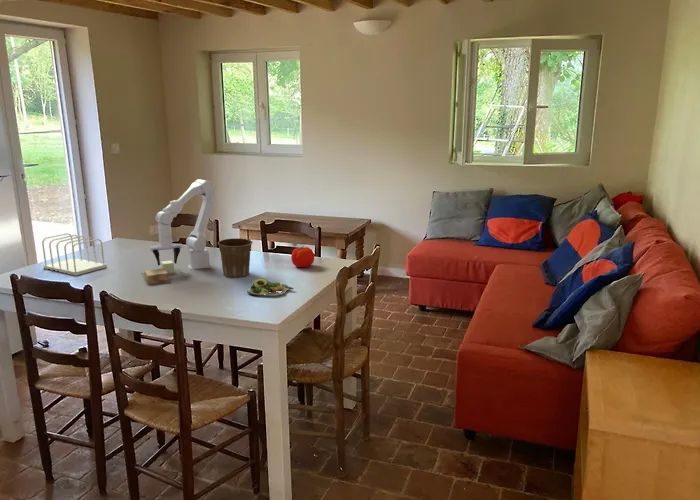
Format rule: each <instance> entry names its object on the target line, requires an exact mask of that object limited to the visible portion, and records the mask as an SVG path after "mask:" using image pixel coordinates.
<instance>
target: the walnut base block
mask: <svg viewBox="0 0 700 500" xmlns="http://www.w3.org/2000/svg"><path fill="white" fill-rule="evenodd" d="M143 271H144V272H143V273H145V280H146V282H147V283H148V284H149V285H154V284H153V283H157V284H162V283H161V282H164V283H170V282H169V281H168V273H167V271H166V270H165V268H163V269H162V268H155V269H147V270H143ZM145 280H144V281H145ZM146 282H145V283H146Z"/></svg>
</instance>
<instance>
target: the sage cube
mask: <svg viewBox="0 0 700 500" xmlns="http://www.w3.org/2000/svg"><path fill="white" fill-rule="evenodd" d="M160 266H161V268H160V269H163V268H165V270H166V271H167V273H168V274H170V273H174V269H175V263H174V261H173V260H165V261H164V260H163V261H160Z"/></svg>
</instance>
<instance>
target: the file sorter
mask: <svg viewBox="0 0 700 500" xmlns="http://www.w3.org/2000/svg"><path fill="white" fill-rule="evenodd" d="M61 236H63V237H61ZM58 237H59V238H58ZM51 238H54V239H51ZM47 239H51V240H50V241H49V243H48V247H49V248H48V249H49V253H50V254H49V255H50V261H51V263H47V259H46V252H45V244H44V243H45V241H46V240H47ZM58 240H59V241H58ZM83 240H84V241H83ZM54 241H58V242H57V243H56V246H55V247H56V254H57V259H58V261H57V262H54V259H53V258H54V257H53V252H52V245H51V244H52V242H54ZM81 241H82V242H81ZM95 241H98V242H99V243H100V248H101V249H100V250H101V259H102V263H101V262H98V261H97V255H96V247H95ZM63 242H66V243H65V244H64V247H63V248H64V255H65V256H64V257H65V260H62V261H61V260H60V252H59V244H60V243H63ZM75 242H77V243H75ZM41 243H42V245H41V246H42V252H43V258H44V264H43V267H42V268H43V269H44V268H45V269H44V270H48V269H50V270H49V271H53V270H55V271H54V272H57V271H59V272H58V273H62V272H63V273H62V274H66V273H67V274H66V275H70V276H71V275H72V276H79V275H83V274H86V273H91V272H94V271H98V270H102V269H105V268H107V264H106V263H105V257H104V256H105V255H104V249H103V248H104V247H103V242H102V240H101V239H100V238H96V239H95V238H94V239H93V238H92V237H89V236H87V237H86V236H83V235H79V236H78V235H76V234H71V233H67V232H66V233H61V234H55V235H52V236H46V237H45V238H43V240H42V241H41ZM88 243H92V248H93V255H94V261H91V260H90V256H89V249H88ZM69 244H71V247H72V248H71V250H72V251H71V252H72V258H70V259H69V258H68V257H67V245H69ZM81 244H85V249H86V256H87V260H86V259H83V257H82V249H81V248H82V247H81ZM77 245H78V249H79V256H80V258H76V255H75V247H76V246H77Z"/></svg>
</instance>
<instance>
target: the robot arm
mask: <svg viewBox="0 0 700 500" xmlns="http://www.w3.org/2000/svg"><path fill="white" fill-rule="evenodd" d="M215 189H216V187H215V185H214V183H213V181H211V180H205V179H201V178H198V179H196V180H194V182H192V183H191V185H190V186H189V187H188V188H187V190H185V191H184V193H183V194H182V195H181V196H180V197H179V198H178V199H174V200H170V201H169V204H167V206H166V207H163V209H162V210H161V211H158V212H157V213H156V215H155V221H156V222H157V225H158V227H157V228H158V240H159V244H158V245H153V246H149V251H150V252H152V254H153V255H154V257H155V259H156V262H157V265H158V266H161V260H160V252H159V251H163V250H165V251H166V250H172V252H173V263H174V265H175V264H177V262H178V261H177V260H178V257H179V255H180V252H181V249H183V244H182V243H173V237H172V235H173V234H172V222H173V220H174V217H176V216H177V215H178V214H179V213H180V212H181V211H182V210H183V209H184V208H183V207H184V205H185V204H186V203H187V202H188V201H190V199H192V198H193V197H194V196H197V195H200V197H201V198H202V203H201V207H200V210H199V213H198V217H197V220H196V221H195V225H194V229H193V230H192V231H191V232H190V233H189V236H188V237H187V238H186V240H185V244H186V246H187V247H188V257H189V264H188V265H187V267H188V268H189V269H190V270H199V269H207V268H211V266H210V253H209V249H208V248H206V245H207V235H206V230H207V227H208V225H209V221H210V218H211V215H212V211H213V208H214V205H215V202H216V193H215Z"/></svg>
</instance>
